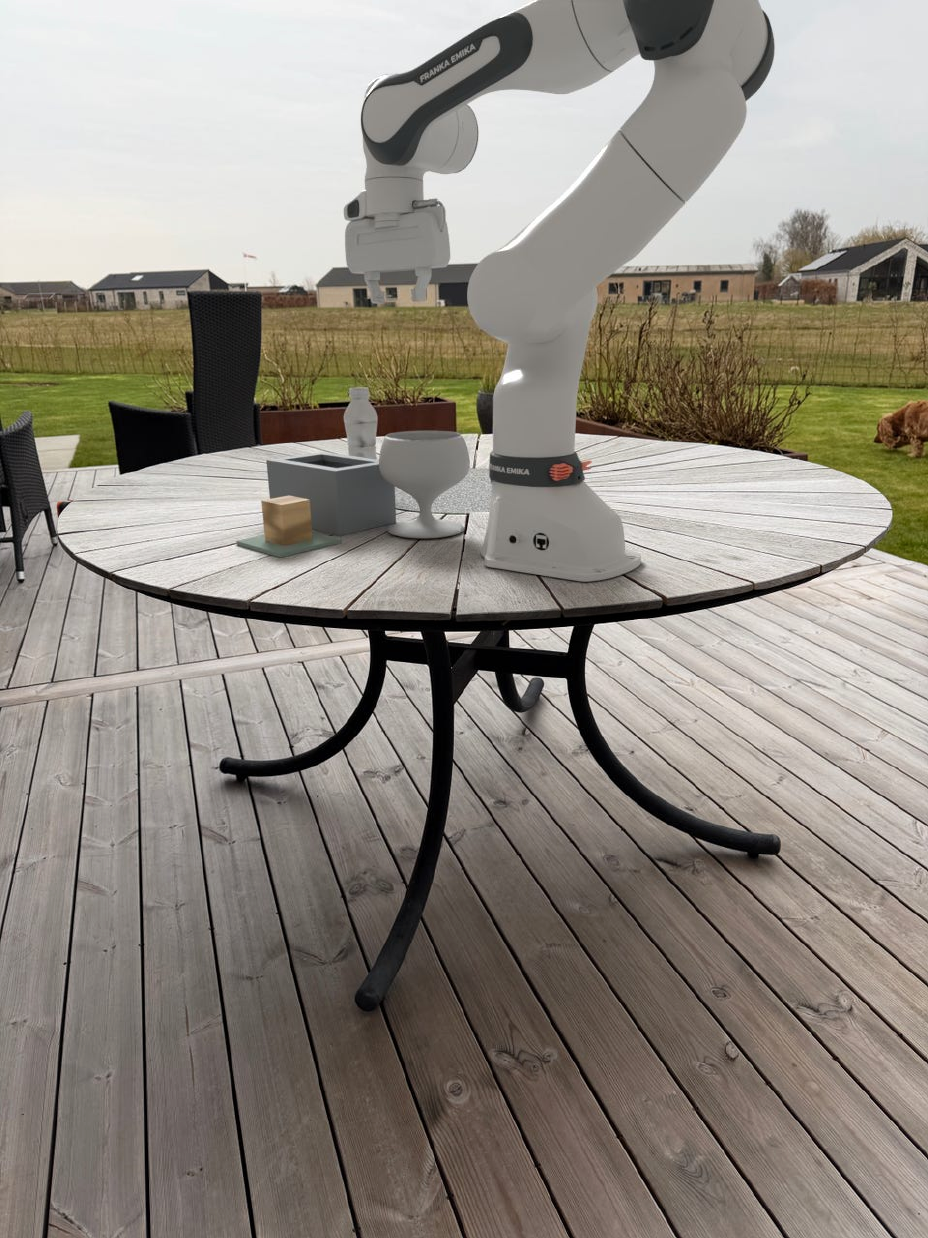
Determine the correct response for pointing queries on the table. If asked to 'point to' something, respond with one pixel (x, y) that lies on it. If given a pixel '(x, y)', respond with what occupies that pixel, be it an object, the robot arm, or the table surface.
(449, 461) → the chalice
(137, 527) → the table surface
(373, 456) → the plastic bottle
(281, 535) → the honey block
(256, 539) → the green mat
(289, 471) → the box
